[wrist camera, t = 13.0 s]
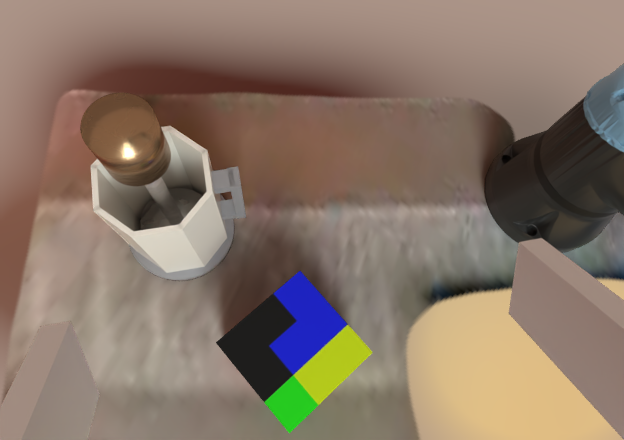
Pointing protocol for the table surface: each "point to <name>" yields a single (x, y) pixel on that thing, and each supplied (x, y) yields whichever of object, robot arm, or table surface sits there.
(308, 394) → the puzzle toy
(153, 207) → the plunger
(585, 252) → the table surface
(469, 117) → the table surface
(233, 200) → the jug
